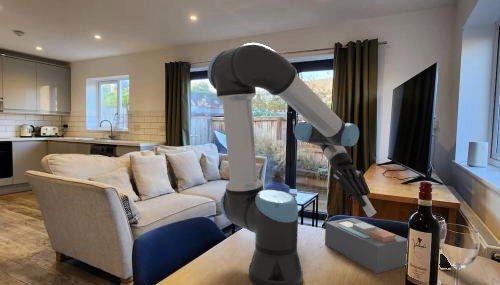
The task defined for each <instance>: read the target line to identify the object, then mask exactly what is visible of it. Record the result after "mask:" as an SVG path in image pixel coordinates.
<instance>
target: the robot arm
mask: <svg viewBox="0 0 500 285" xmlns="http://www.w3.org/2000/svg"><path fill="white" fill-rule="evenodd" d="M297 73H298V72H297V69H296V67H295V66H294V65H293V64H292V63H291V62H290V61H289V60H288V59H287V58H285V57H284V56H283V55H282V54H280V53H279V52H277V51H276V50H274V49H272V48H271V47H270V46H266V45H264V44H261V43H256V42H251V43H249V42H248V43H245V44H243V45H240V46H236V47H233V48H229V49H225V50H224V51H220V53H219V52H218V54H216V55H215V56H213V58H212V59H211V60H210V61H209V64H208V68H207V78H208V81H209V83H210V85H211V86H212V87H213V89H215V90H216V91H215V92H216V98H217V99H218V100H219V101H220V102H221V103H222V109H223V120H224V130H225V132H224V133H225V142H226V151H227V162H228V163H227V164H228V166H227V167H228V175H229V181H228V182H227V183H226V185H225V191H224V192H223V195H222V196H221V199H220V209H221V213H222V215H223V216H224V218H225V219H227V221H229V222H230V223H231V224H234V226H238V227H241V228H243V229H245V230H247V231H250V232H252V233H254V235H255V240H254V243H255V244H254V245H255V246H254V251H253V254H252V258H251V261H250V264H249V266H248V279H249V281H251V282H250V283H252V284H254V285H301V284H302V282H303V277H304V275H303V274H304V270H303V267H302V265H301V261H300V258H299V254H298V231H299V230H298V227H299V208H298V201H297V199H296V198H295V196H293V195H292V194H290V193H289V194H288V193H285V192H282V191H276V190H265V189H264V185H263V182H262V180H261V179H259V178H258V171H257V170H258V168H257V157H256V146H255V144H256V143H255V142H256V141H255V131H254V119H253V108H252V106H253V104H252V101H253V100H254V97H255V96H256V95H257V93H256V88H259V89H263V90H265V91H267V92H268V93H269V94H270V95H272V96H278V97H279V98H281V100H283V101H284V102H285V103H286V104H288V105H289V107H291V108H292V109H293V110H294V111H295V112H296V113H297V114H298V115H300V116H301V118H303V119H304V120H300V121H299V122H297V124H296V125H295V127H294V132H293V134H294V137H295V139H296V140H297V141H300V142H302V143H307V144H310V145H314V146H318V147H320V149H321V151H322V153H323V154H324V156H325V158H326V160H327V161H328V162H329V165H330V167H331V169H332V171H334V172H335V173H334V174H333V175H332V179H334V180H335V181H336V182H337V183H338V184H339V186H341V188H342V189H343V191H345V193H346V194H347V195H348V196H349V198H350V199H353V201H355V202H356V201H357V202H358V204H359V206H360V207H362V209H363V211H364V212H365V214H366V216H367V217H368V218H371V217H373V216H374V215H375V214H377V211H376V210H375V207H374V206H373V205H372V203H373V202H371V200H370V198H369V197H368V196H369V194H370V193H371V192H370V191H371V190H370V189H369V186H368V183H367V181H366V178H365V176H364V171H363V170H361V169H360V170H357V168H356V167H355V166H354V165H353V159H352V158H351V156H350V154H349V153H348V151H347V150H346V147H353V146H355V145H356V144H357V142H358V140H359V137H360V130H359V127H358V126H357V125H356V124H354V123H350V122H346V123H345V122H344V121H343V120H342V119H341V118H340V117H339V116H338V115H337V114H336V112H334V111H333V110H332V109H331V108H330V107H329V106H328V105H327V104H326V103H325V102H324V101H323V100H322V99H321V98H320V97H319V96H318V95H317V94H316V93H315V92H314V91H313V90H312V88H310V87H309V86H308V84H306V83H305V81H304V80H302V79H301V78H300V77H299V75H298V74H297Z"/></svg>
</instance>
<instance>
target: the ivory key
mask: <svg viewBox="0 0 500 285" xmlns="http://www.w3.org/2000/svg"><path fill="white" fill-rule="evenodd" d="M339 223H340V224H342V225H344V226H346V227H349V228H351V229H353V224H354V223H351V222H349V221H345V222H339Z"/></svg>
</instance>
